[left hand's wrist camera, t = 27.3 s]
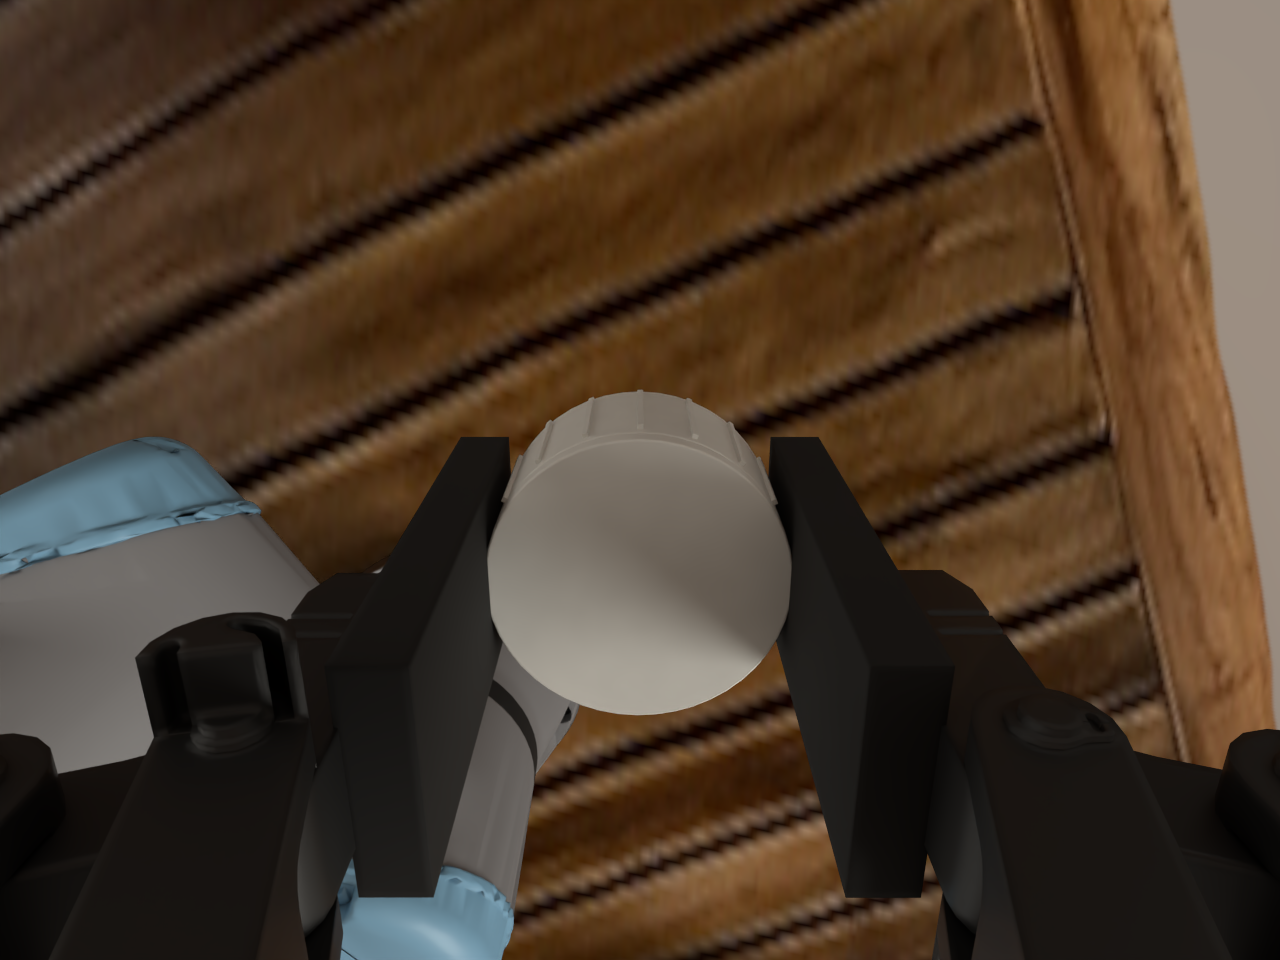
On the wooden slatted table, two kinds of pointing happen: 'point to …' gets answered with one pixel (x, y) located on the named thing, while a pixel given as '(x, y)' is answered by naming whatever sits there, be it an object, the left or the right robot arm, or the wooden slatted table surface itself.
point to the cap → (639, 556)
